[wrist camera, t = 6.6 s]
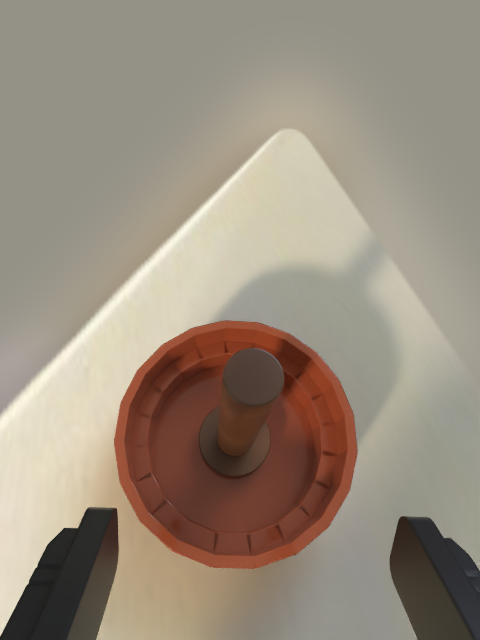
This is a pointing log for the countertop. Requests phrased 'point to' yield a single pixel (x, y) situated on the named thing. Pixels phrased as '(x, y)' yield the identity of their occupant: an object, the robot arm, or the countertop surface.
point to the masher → (242, 414)
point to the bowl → (245, 492)
